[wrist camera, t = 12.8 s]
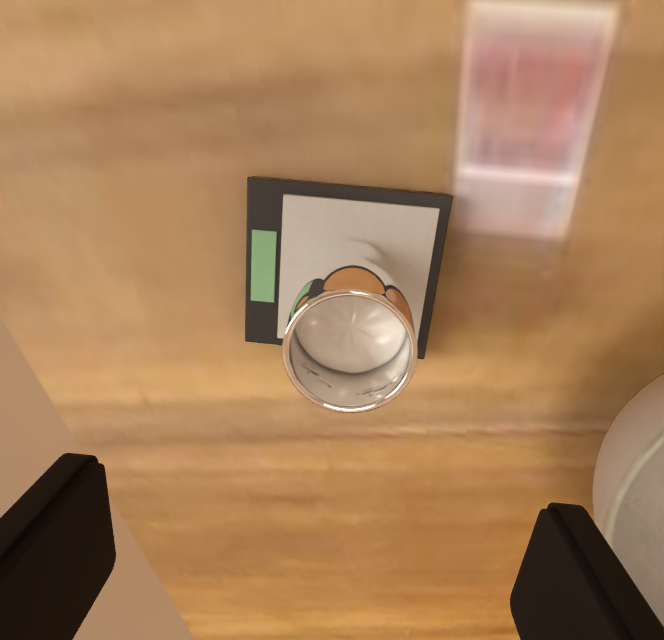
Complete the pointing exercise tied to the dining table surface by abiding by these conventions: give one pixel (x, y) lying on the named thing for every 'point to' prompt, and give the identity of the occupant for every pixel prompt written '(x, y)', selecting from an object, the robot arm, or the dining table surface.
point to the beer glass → (350, 332)
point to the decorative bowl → (635, 491)
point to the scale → (329, 229)
